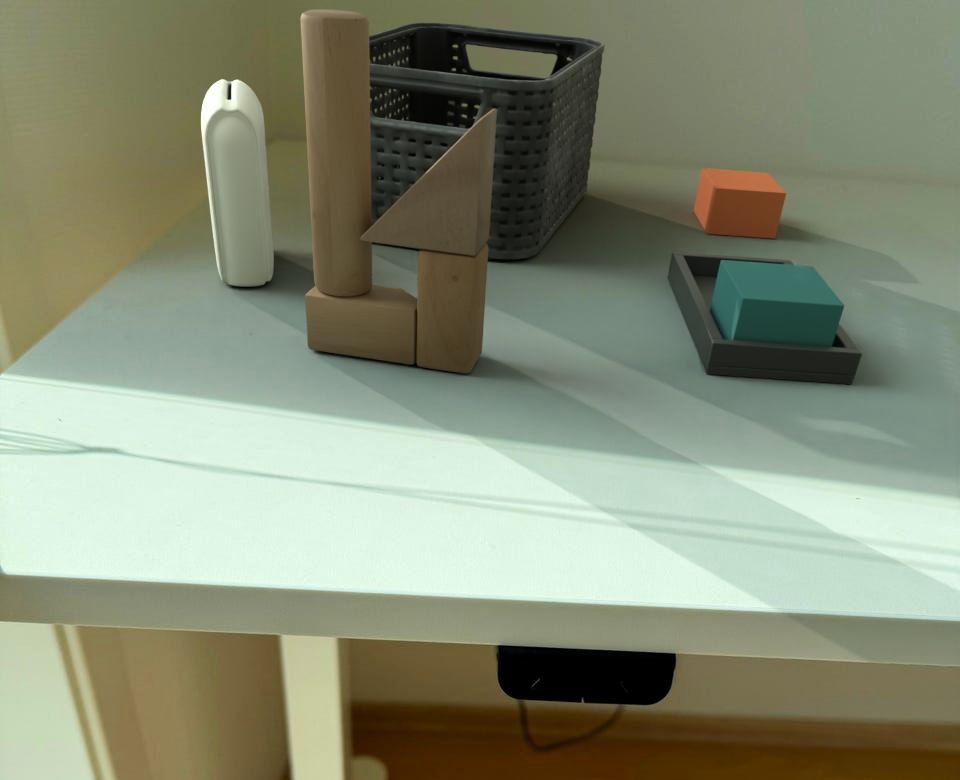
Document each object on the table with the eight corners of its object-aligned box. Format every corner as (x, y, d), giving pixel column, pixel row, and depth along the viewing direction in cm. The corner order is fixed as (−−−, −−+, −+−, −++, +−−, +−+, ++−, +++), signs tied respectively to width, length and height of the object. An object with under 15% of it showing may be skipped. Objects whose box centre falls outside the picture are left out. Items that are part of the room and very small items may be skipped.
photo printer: (219, 246, 74) (200, 68, 66) (274, 247, 75) (260, 70, 67) (215, 289, 66) (192, 93, 59) (276, 289, 67) (261, 95, 59)
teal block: (797, 322, 67) (813, 266, 64) (826, 366, 60) (845, 305, 58) (708, 316, 67) (720, 259, 64) (728, 359, 60) (742, 297, 58)
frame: (667, 278, 75) (672, 251, 74) (783, 286, 75) (790, 259, 74) (706, 374, 60) (713, 342, 58) (852, 384, 60) (862, 353, 59)
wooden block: (470, 376, 57) (489, 32, 46) (306, 352, 59) (285, 11, 47) (482, 355, 60) (503, 25, 49) (326, 332, 61) (311, 6, 50)
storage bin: (529, 268, 75) (546, 77, 66) (309, 235, 78) (299, 49, 70) (592, 190, 96) (611, 39, 88) (417, 167, 100) (420, 19, 91)
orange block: (757, 216, 92) (767, 172, 90) (775, 239, 86) (786, 192, 84) (693, 211, 92) (701, 167, 90) (706, 234, 86) (715, 187, 84)
